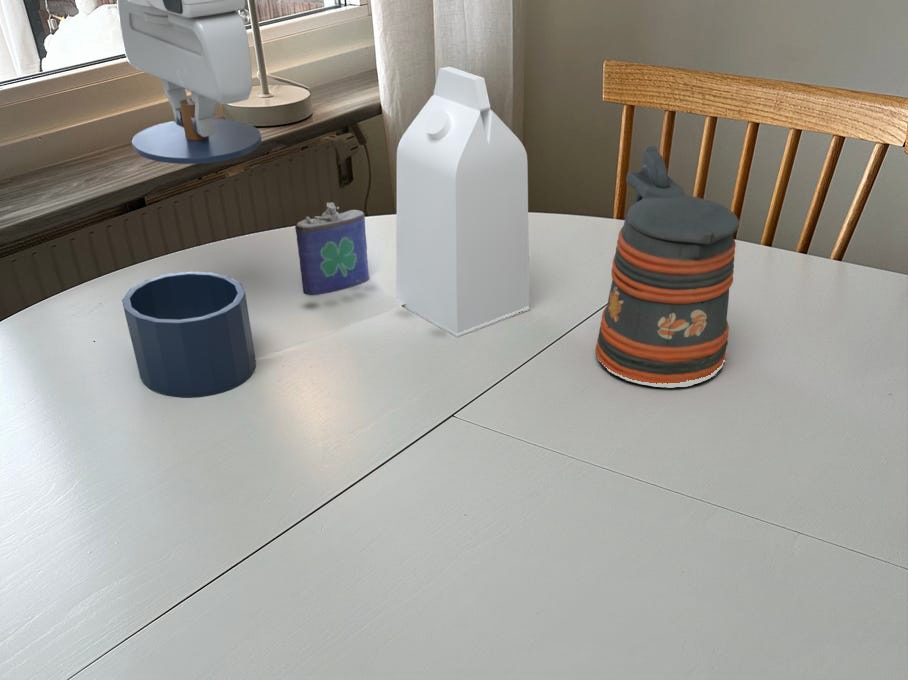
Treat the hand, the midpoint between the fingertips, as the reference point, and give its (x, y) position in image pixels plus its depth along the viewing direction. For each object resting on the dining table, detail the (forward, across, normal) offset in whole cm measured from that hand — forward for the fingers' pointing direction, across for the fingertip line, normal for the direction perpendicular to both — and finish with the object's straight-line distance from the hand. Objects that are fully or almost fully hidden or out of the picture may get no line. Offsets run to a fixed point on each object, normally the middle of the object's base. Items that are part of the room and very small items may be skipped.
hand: (195, 130), depth 109 cm
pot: (+21, +10, -9) cm, 25 cm away
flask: (+21, +3, +15) cm, 26 cm away
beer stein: (+21, +40, +32) cm, 55 cm away
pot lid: (+1, 0, 0) cm, 1 cm away
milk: (+21, +17, +24) cm, 36 cm away
